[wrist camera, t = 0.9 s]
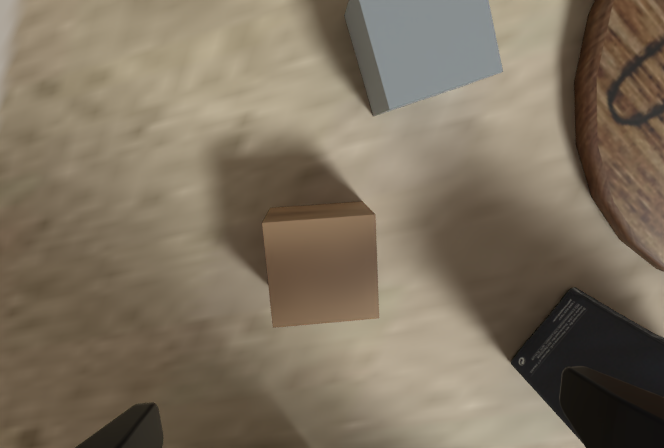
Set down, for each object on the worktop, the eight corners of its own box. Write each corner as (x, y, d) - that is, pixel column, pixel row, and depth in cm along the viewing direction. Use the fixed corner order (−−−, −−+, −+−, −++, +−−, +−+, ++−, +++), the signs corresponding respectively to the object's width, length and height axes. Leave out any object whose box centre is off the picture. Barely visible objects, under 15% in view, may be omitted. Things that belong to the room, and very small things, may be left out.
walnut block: (365, 286, 21) (379, 318, 18) (279, 293, 21) (272, 327, 17) (362, 200, 20) (375, 214, 16) (270, 207, 20) (261, 222, 16)
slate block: (463, 85, 19) (503, 71, 16) (373, 116, 19) (389, 109, 16) (439, -16, 18) (476, -60, 14) (344, 16, 18) (354, -18, 14)
